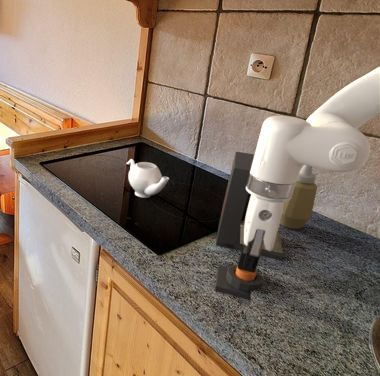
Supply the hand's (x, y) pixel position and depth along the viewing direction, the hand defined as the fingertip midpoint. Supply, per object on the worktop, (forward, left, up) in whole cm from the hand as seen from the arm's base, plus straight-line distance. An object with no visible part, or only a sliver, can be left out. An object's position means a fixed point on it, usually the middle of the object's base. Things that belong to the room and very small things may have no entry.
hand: (246, 268), depth 81 cm
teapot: (+28, -34, -5) cm, 44 cm away
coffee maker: (-1, -20, -5) cm, 21 cm away
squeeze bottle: (-11, -34, -5) cm, 36 cm away
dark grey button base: (0, 0, -5) cm, 5 cm away
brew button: (0, 0, -2) cm, 2 cm away
